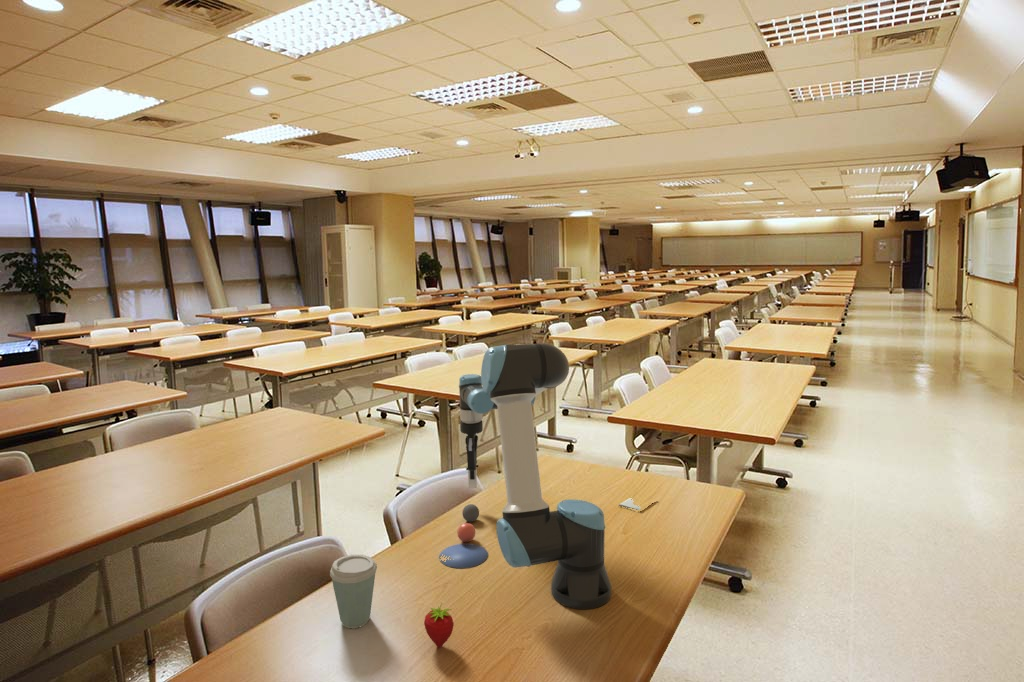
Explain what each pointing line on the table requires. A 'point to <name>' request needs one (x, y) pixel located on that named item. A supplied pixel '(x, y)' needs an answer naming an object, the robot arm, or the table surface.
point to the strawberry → (439, 625)
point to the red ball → (466, 532)
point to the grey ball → (470, 512)
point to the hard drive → (630, 504)
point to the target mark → (464, 555)
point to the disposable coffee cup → (354, 588)
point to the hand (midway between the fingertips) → (472, 487)
